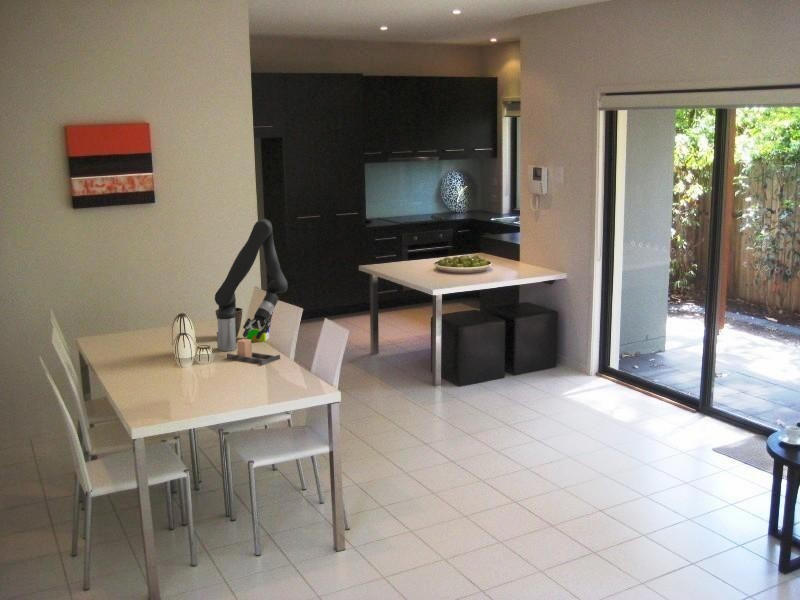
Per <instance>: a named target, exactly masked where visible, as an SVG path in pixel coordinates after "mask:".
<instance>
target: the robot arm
mask: <svg viewBox="0 0 800 600" xmlns="http://www.w3.org/2000/svg"><path fill="white" fill-rule="evenodd" d="M261 247H262V250H263V251H262V252H263V256H264V257H263V259H264V264H265V268H266V272H267V274H268V276H269V277H272V278H273V279H272V280H270V282H269V283H268V285H267V288H266V292H265V296H264V297H263V299H262V301H261V303H260V304H259V306H258V308H257V310H256V311H255V313H254V314H253V319H251V318H249V317H248V318H247V320H246V321H245V323H244V325H243V326H242V328H243V329H244V331H243V332H242V336H243V337H244V338H247V335H248V333H249V331H250V330H253V329H254V328H255V329H259V331H260V332H258V334H257V336H256V339H258V340H259V339H260V337H261V336H262V334H263V333H267V331H268V329H269V330H270V327H271V325H272V324H271V323H270V320H269V319H270V317H271V316H272V314H273V312H274V309H275V307H276V305H277V304H278V301H279V296H278V295H277V294H280V293H281V294H282V293H285V292H286V291H287V290H288V287H289V284H288V281H287V278H286V277H285V275H284V272H283V271H282V269H281V265H280V261H279V258H278V254H277V251H276V246H275V241H274V233H273V225H272V223H271V221H270V220H268V219H267V218H260V219H258V220H257V221H255V223H254V224H253V227H252V229H251V232H250V235H249V237H248V239H247V240H246V242H245V244H244V245H243V246H242V248H241V249H240V251H239V253H238V254H237V255H236V257H235V259H234V261H233V263H232V265H231V267H230V269H229V271H228V273H227V275H226V278H225V280H224V281H223V282H222V284H221V285H220V287H219V288H218V290H217V291H216V292H215V294H214V301H215V303H216V305H218V313H217V316H216V320H218V321H217V331H216V342H217V343H216V344H217V350H219V351H221V352H231V350H232V351H235V350H237V338H236V325H235V312H236V308H237V307H236V306H237V305H236V301H237V300H236V290H237V289H238V286H239V285H240V284H241V282H242V281H243V280H244V279H245V278H246V276H248V274H249V272H251V268H252V266H253V265H254V263H255V261H256V259H257V256H258V253H259V251H260V249H261ZM268 320H269V321H268ZM251 325H252V326H253V327H252V326H251ZM264 325H265V326H264ZM263 326H264V328H263ZM248 328H249V329H248Z"/></svg>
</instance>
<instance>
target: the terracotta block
mask: <svg viewBox="0 0 800 600" xmlns="http://www.w3.org/2000/svg"><path fill="white" fill-rule="evenodd" d="M252 345H253V344H252V342H251V340H249V339H247V338H241V339H239V340H236V346H237V349H236V350H237V351H238V354H237V355H239V356H245V357H252V351H253V349H252Z"/></svg>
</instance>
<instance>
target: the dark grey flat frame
mask: <svg viewBox="0 0 800 600" xmlns="http://www.w3.org/2000/svg"><path fill="white" fill-rule="evenodd" d="M236 353H237V354H233V353H226V358H224V360H226V361H232V362H239V363H244V364H250V365H255V366H256V365H257V366H264V365H268V364H270V363H272V362H276V361H278V360H281V354H277V355H272V354H271V355H270V354H265V353H258V352H252V357H245V356H239V355H238V350H237V352H236Z"/></svg>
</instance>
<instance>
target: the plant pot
mask: <svg viewBox="0 0 800 600" xmlns="http://www.w3.org/2000/svg"><path fill="white" fill-rule="evenodd" d="M218 309H219V308H218ZM218 309H216V310H215V312H214V313H215V316H216V317H217V313H218ZM242 317H243V308H241V307H236V312H235V325H236V337H237V338H238V336H239V334H240V333H239V332H240V328H241V325H242ZM216 320H217V319H216ZM217 322H218V320H217Z"/></svg>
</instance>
